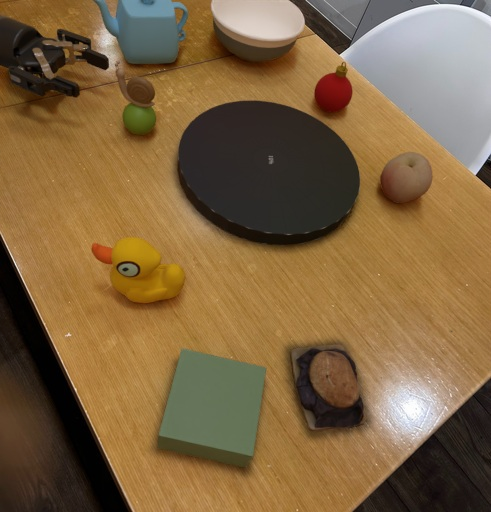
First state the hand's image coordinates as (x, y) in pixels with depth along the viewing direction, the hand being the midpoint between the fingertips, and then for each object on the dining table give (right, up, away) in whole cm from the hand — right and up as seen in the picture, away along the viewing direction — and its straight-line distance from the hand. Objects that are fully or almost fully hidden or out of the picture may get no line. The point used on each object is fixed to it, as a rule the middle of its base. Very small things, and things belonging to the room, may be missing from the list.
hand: (93, 77), depth 78 cm
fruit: (+50, -18, +7) cm, 53 cm away
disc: (+28, -15, +5) cm, 32 cm away
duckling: (+10, -33, -12) cm, 37 cm away
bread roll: (+34, -45, -16) cm, 58 cm away
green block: (+20, -47, -21) cm, 55 cm away
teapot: (+3, +11, +18) cm, 22 cm away
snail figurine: (+6, -7, +5) cm, 11 cm away
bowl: (+25, +14, +25) cm, 38 cm away
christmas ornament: (+40, 0, +18) cm, 44 cm away
